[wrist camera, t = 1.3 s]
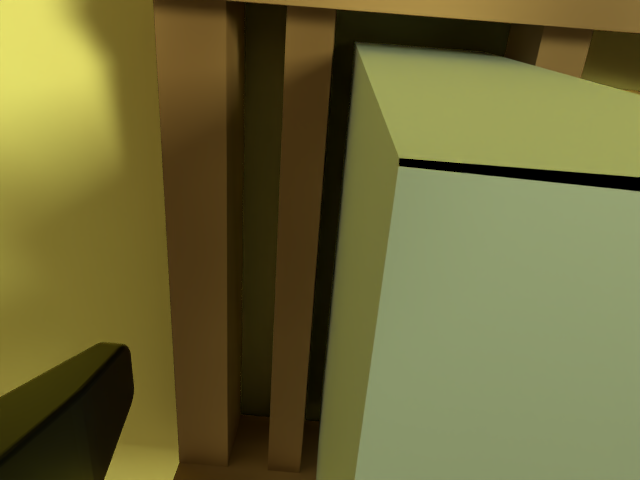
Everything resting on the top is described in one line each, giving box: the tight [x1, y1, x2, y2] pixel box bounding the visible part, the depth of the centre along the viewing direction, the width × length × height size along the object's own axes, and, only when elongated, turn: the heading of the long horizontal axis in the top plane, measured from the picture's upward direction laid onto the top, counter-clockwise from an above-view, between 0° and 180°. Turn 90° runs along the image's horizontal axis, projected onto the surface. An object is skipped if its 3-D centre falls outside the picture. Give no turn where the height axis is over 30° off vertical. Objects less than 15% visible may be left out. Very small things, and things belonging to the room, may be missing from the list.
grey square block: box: [316, 41, 640, 480], centre depth 8 cm, size 3×9×9 cm, turn 176°
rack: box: [153, 0, 640, 480], centre depth 11 cm, size 15×12×2 cm
